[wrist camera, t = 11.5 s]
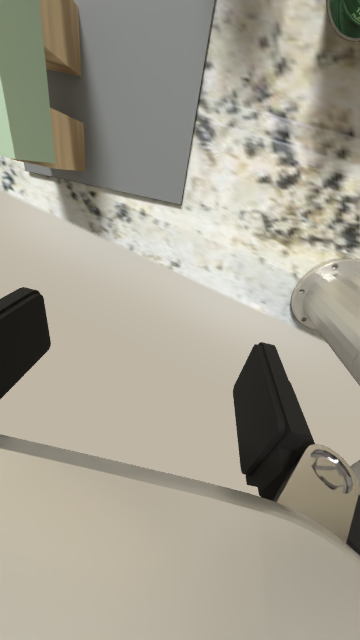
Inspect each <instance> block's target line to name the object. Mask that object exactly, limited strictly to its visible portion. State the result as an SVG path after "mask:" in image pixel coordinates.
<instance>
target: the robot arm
mask: <svg viewBox="0 0 360 640" xmlns="http://www.w3.org/2000/svg"><path fill="white" fill-rule="evenodd" d="M291 306H292V311H293V313H294V315H295V317H296V318H297V320H298V321H299V322H300V323H301V324H303V325H304V326H306V327H308V328H311V329H315V330H318V331H319V332H320V334H321V335H322V336H323V338H324V339H325V340H326V342H327V343H328V344H329V346H330V347H331V348H332V350H333V351H334V352H335V354H336V355H337V356H338V358H339V359H340V360H341V362H342V363H343V364H344V366H345V367H346V368H347V370H348V371H349V372H350V374H351V375H352V376H353V378H354V379H355V380H356V382H357V383H358V384H359V385H360V260H357V259H352V258H342V259H335V260H331V261H328V262H325V263H323V264H321V265H319V266H317V267H315V268H314V269H312V270H311V271H309V272H308V273H307V274H306V275H305V276H304V277H303V278H302V279H301V280H300V282H299V283H298V284H297V286H296V288H295V290H294V292H293V295H292V300H291ZM50 344H51V342H50V336H49V330H48V324H47V318H46V311H45V305H44V299H43V296H42V295H40V293H39V291H37V290H33V289H29V288H24V287H22V288H19V289H18V290H16V291H14V292H12V293H10V294H9V295H7V296H5V297H3V298H1V299H0V399H1V398H2V397H3V396H4V395H5V394H6V393H7V392H8V391H9V390H10V389H11V388H12V387H13V386H14V385H15V383H17V382H18V381H19V380H20V379H21V377H23V376H24V374H25V373H26V372H27V371H28V370H29V369H30V368H31V367H32V366H33V365H34V364H35V363H36V362H37V361H38V360H39V359H40V358H41V357H42V356H43V355H44V354H45V353H46V352H47V350H49V348H50ZM233 397H234V407H235V416H236V426H237V436H238V445H239V455H240V464H241V471H242V473H243V474H246V481H247V485H251V486H256V487H258V491H259V495H260V496H261V497H258V496H255V495H252V494H249V493H245V492H241V491H237V490H233V489H229V488H225V487H221V486H217V485H214V484H210V483H206V482H202V481H198V480H193V479H189V478H185V477H181V476H177V475H173V474H169V473H164V472H160V471H155V470H151V469H147V468H143V467H139V466H135V465H130V464H126V463H122V462H118V461H113V460H109V459H105V458H100V457H96V456H92V455H88V454H83V453H79V452H75V451H70V450H66V449H61V448H57V447H53V446H48V445H44V444H40V443H35V442H31V441H27V440H22V439H18V438H14V437H9V436H5V435H0V640H360V460H359V461H358V462H356V463H354V464H353V465H352V466H351V467H350V466H349V465H348V464H347V463H346V461H345V460H344V459H343V458H342V457H340V456H339V455H338V454H337V453H336V452H334V451H333V450H331V449H330V448H328V447H325V446H323V445H317V444H315V443H314V440H313V438H312V435H311V433H310V430H309V428H308V425H307V423H306V420H305V418H304V415H303V413H302V410H301V408H300V405H299V403H298V401H297V398H296V395H295V393H294V390H293V388H292V385H291V383H290V381H289V380H288V378H287V375H286V373H285V370H284V367H283V365H282V362H281V360H280V358H279V355H278V352H277V350H276V347H275V346H274V345H271V344H266V343H262V342H261V343H259V344H258V345H254V347H253V349H252V351H251V353H250V355H249V357H248V359H247V361H246V363H245V365H244V367H243V369H242V371H241V373H240V375H239V377H238V379H237V381H236V383H235V385H234V389H233Z"/></svg>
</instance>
